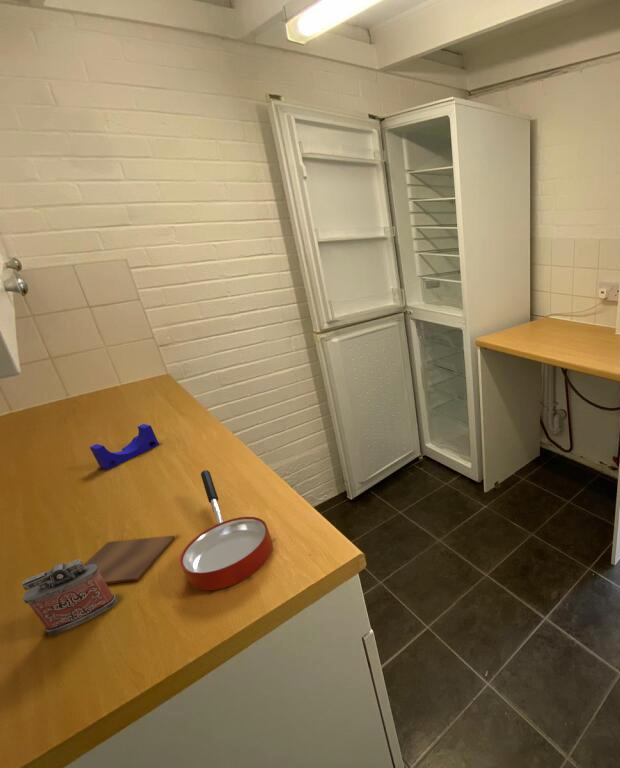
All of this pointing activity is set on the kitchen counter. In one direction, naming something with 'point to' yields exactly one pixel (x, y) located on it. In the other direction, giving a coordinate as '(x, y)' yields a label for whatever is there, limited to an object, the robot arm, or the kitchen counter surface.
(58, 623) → the lighter
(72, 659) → the kitchen counter surface
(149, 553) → the plate
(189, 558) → the frying pan
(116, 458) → the blue notched block
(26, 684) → the kitchen counter surface
